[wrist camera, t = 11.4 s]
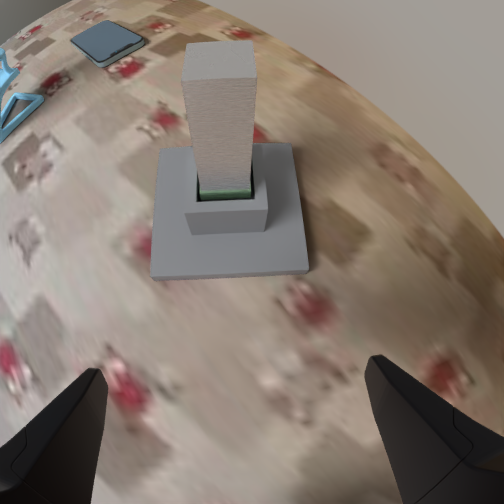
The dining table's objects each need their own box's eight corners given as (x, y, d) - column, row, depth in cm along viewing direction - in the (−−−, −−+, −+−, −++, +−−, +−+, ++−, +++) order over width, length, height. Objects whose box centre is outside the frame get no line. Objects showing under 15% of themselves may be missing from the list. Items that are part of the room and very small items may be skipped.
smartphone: (106, 18, 38) (146, 37, 34) (109, 25, 39) (148, 46, 35) (68, 39, 36) (98, 63, 32) (71, 46, 37) (101, 72, 33)
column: (250, 198, 22) (259, 78, 12) (201, 200, 21) (178, 82, 12) (247, 154, 23) (253, 35, 13) (201, 156, 23) (185, 39, 13)
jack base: (306, 273, 25) (324, 248, 19) (154, 280, 24) (131, 256, 19) (289, 150, 29) (298, 108, 23) (162, 156, 28) (149, 115, 23)
